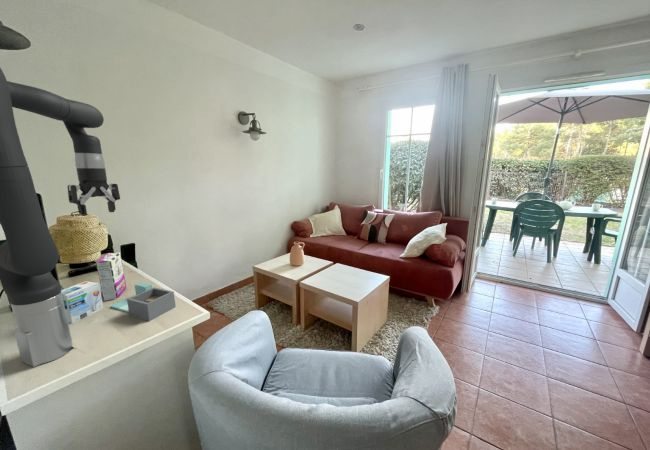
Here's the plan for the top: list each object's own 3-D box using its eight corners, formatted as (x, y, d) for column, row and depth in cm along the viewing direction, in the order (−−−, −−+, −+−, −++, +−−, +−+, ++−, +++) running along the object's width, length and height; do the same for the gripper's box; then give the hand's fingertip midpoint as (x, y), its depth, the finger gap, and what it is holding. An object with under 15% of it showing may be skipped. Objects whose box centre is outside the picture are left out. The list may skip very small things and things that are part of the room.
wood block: (155, 310, 95) (154, 301, 94) (146, 309, 95) (145, 300, 95) (162, 305, 99) (161, 296, 98) (153, 304, 99) (152, 296, 98)
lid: (128, 314, 94) (125, 297, 92) (110, 309, 97) (107, 293, 96) (157, 300, 104) (155, 285, 102) (140, 296, 107) (138, 281, 106)
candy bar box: (112, 289, 113) (106, 253, 109) (126, 287, 115) (121, 252, 111) (102, 301, 103) (95, 261, 99) (117, 299, 104) (111, 260, 101)
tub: (149, 323, 88) (147, 304, 87) (129, 317, 92) (126, 298, 90) (175, 309, 97) (173, 291, 96) (156, 304, 101) (154, 287, 100)
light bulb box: (72, 325, 87) (66, 295, 84) (56, 323, 88) (50, 293, 86) (105, 309, 97) (100, 282, 95) (90, 307, 98) (85, 280, 96)
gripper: (71, 166, 82) (80, 217, 86) (120, 167, 95) (126, 211, 99) (58, 166, 85) (67, 216, 88) (107, 167, 98) (113, 210, 101)
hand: (98, 213), depth 93 cm, fingers open, 8 cm apart
